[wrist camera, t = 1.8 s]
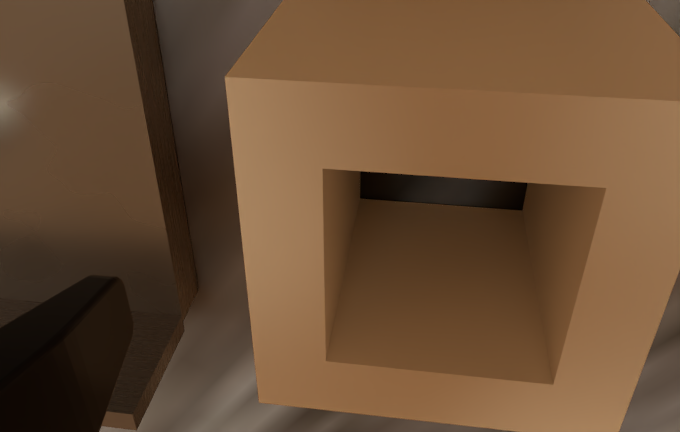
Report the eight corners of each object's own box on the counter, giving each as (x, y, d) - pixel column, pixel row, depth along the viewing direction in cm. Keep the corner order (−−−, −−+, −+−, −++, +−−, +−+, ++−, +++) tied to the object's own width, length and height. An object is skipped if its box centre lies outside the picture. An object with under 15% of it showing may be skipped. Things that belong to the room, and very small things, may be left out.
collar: (635, -12, 11) (741, 104, 7) (567, 258, 15) (614, 442, 11) (301, -23, 12) (224, 77, 8) (309, 236, 15) (258, 402, 11)
